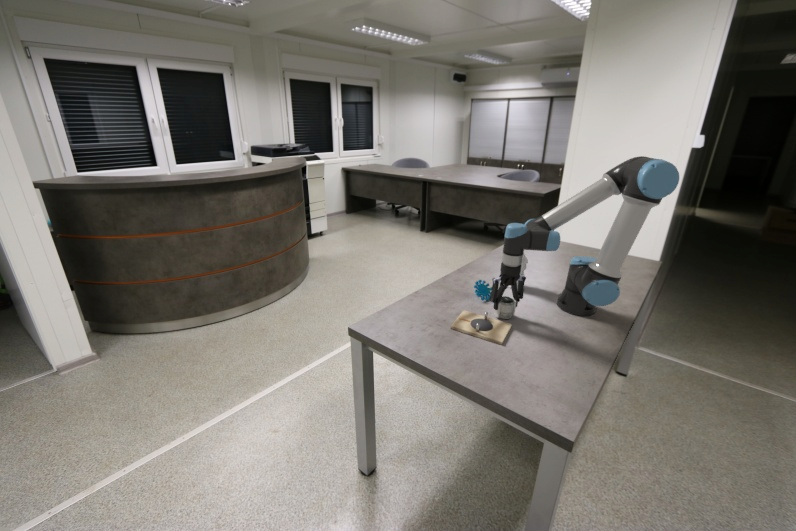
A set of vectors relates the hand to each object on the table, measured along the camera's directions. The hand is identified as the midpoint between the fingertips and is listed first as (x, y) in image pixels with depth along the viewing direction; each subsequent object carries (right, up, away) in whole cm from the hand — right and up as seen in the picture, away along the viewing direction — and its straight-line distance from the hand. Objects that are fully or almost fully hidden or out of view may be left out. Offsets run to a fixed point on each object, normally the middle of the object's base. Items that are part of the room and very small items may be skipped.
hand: (504, 314), depth 144 cm
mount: (-11, -4, -8) cm, 14 cm away
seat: (-11, -3, -8) cm, 14 cm away
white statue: (+12, +11, +29) cm, 33 cm away
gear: (-5, +6, +16) cm, 18 cm away
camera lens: (0, -1, 0) cm, 1 cm away
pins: (-11, -3, -8) cm, 14 cm away
